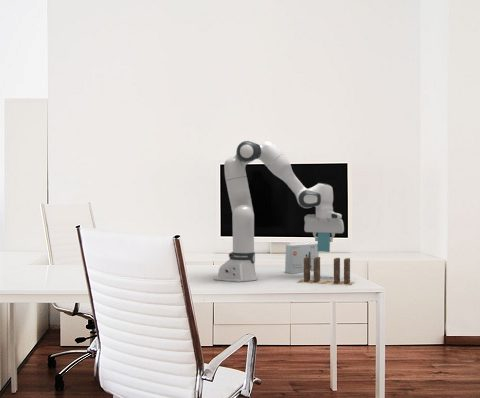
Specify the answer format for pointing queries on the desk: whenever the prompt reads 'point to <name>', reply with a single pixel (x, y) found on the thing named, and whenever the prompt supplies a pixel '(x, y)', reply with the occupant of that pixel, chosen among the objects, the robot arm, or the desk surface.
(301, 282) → the oak board
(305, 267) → the dark wood plank
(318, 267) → the tile
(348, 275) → the tile
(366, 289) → the desk surface
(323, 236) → the tile
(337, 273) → the tile
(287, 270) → the skincare box
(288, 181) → the robot arm
